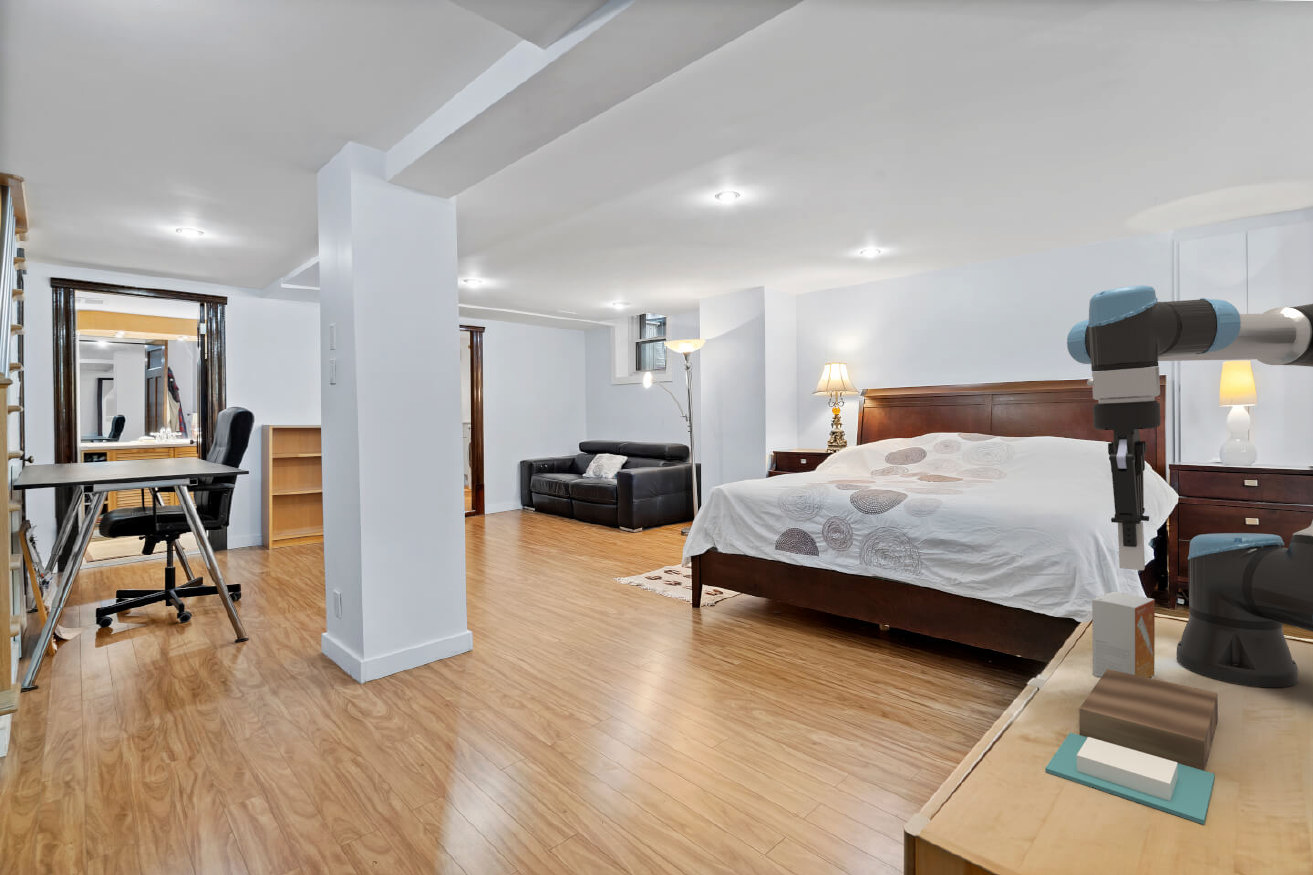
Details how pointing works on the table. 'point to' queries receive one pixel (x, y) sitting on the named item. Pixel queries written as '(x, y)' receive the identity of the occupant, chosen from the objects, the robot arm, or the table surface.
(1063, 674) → the table surface
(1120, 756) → the tile
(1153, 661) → the small box
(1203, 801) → the teal mat
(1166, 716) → the board
